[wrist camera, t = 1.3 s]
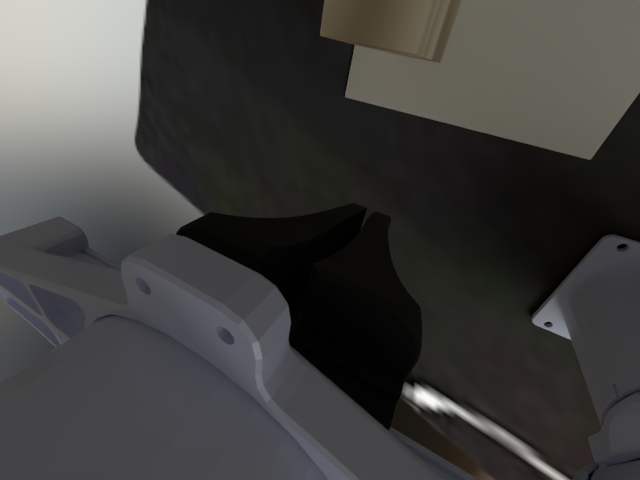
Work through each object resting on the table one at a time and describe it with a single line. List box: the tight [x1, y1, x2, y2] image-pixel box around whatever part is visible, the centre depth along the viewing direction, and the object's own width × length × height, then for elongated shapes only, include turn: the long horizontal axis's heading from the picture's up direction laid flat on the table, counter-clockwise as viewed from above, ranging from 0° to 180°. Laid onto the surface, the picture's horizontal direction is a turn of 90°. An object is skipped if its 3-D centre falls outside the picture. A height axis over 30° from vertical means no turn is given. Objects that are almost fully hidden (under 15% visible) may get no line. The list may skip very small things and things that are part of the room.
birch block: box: [320, 0, 462, 63], centre depth 13 cm, size 4×4×8 cm
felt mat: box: [345, 0, 640, 160], centre depth 15 cm, size 15×10×1 cm, turn 79°
